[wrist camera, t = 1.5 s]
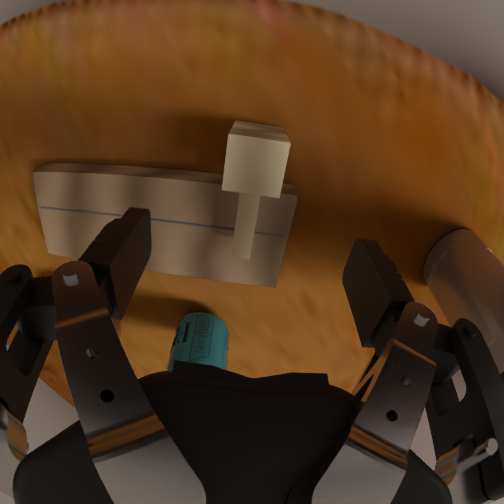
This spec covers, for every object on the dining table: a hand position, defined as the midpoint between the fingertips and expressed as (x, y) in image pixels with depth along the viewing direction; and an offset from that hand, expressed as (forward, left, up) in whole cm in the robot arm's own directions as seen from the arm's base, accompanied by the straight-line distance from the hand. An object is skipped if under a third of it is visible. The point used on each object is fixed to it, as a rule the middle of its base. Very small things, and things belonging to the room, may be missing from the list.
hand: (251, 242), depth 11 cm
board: (+9, +8, -15) cm, 19 cm away
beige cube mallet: (0, +3, -15) cm, 16 cm away
